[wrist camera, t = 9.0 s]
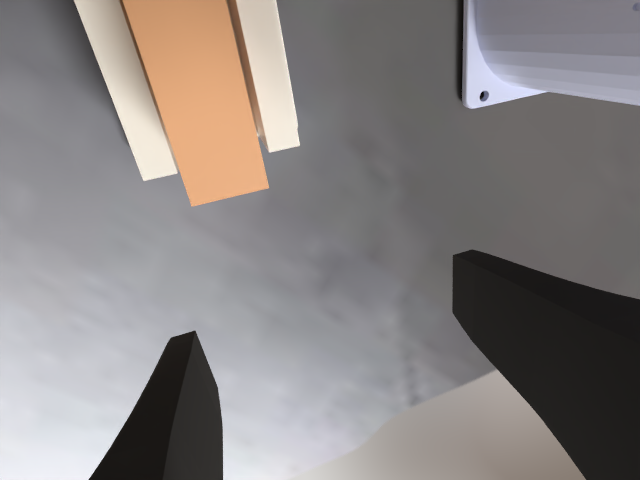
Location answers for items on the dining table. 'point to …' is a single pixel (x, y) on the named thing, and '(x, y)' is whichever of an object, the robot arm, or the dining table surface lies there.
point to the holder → (138, 98)
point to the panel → (200, 94)
